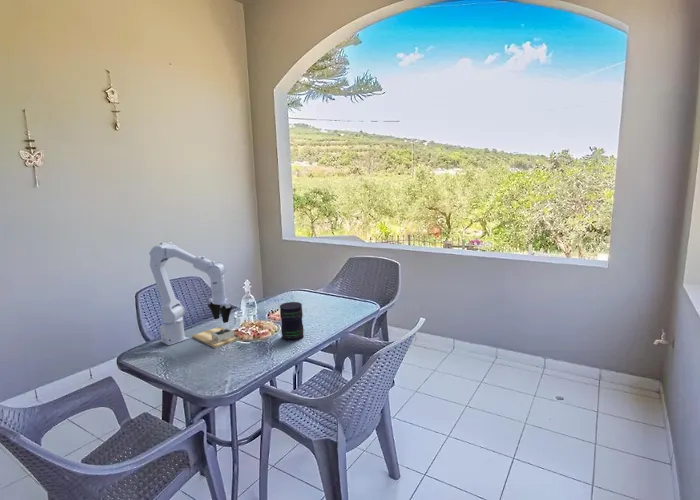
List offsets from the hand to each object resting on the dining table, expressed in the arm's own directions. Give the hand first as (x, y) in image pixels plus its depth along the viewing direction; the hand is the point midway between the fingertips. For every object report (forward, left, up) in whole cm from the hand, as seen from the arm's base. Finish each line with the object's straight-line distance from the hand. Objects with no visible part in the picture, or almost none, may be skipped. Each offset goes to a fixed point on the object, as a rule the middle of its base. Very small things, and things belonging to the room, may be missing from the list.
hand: (221, 320), depth 192 cm
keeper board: (0, +5, -9) cm, 11 cm away
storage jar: (+22, -22, -10) cm, 33 cm away
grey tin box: (0, 0, -8) cm, 8 cm away
